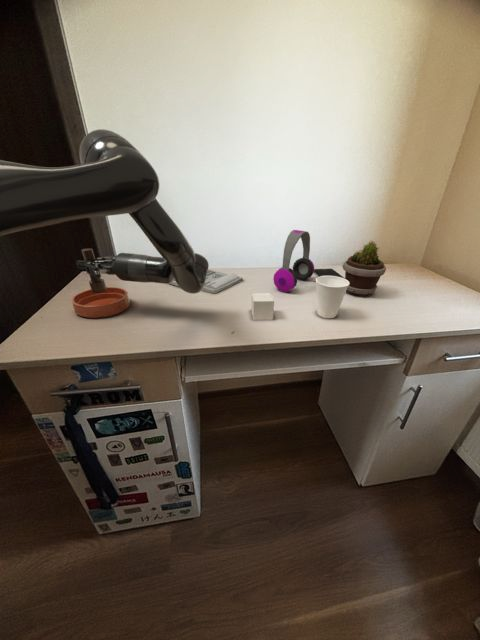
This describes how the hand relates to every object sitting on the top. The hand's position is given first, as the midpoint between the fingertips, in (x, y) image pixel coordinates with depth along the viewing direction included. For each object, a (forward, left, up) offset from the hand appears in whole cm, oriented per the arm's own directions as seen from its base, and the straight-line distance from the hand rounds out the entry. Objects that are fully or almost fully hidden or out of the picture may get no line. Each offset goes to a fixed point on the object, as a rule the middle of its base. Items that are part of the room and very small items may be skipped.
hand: (82, 263), depth 80 cm
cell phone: (+88, +7, -14) cm, 90 cm away
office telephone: (+36, +15, -14) cm, 42 cm away
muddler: (+3, -1, -8) cm, 9 cm away
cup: (+68, -24, -14) cm, 74 cm away
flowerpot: (+90, -10, -14) cm, 92 cm away
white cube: (+48, -19, -14) cm, 54 cm away
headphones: (+69, +3, -14) cm, 71 cm away
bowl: (+2, -1, -14) cm, 14 cm away
